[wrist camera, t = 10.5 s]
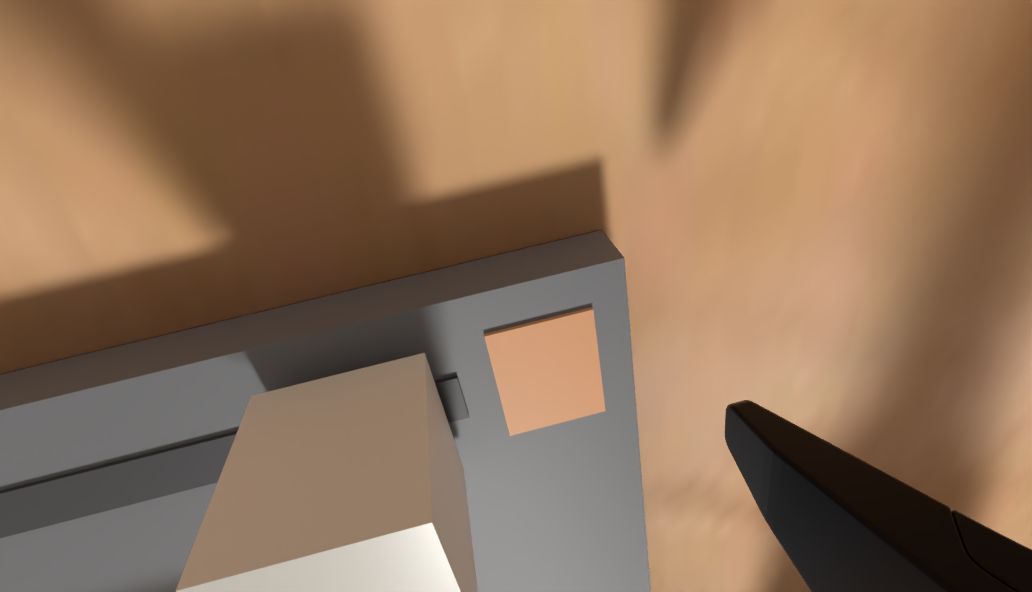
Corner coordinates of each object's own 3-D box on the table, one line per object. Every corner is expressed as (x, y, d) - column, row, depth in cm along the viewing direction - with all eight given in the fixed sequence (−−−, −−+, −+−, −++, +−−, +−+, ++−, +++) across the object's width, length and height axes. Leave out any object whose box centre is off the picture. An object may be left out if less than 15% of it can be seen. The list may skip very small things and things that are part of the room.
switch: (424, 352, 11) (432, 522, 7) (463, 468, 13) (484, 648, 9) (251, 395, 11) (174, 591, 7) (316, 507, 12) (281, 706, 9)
